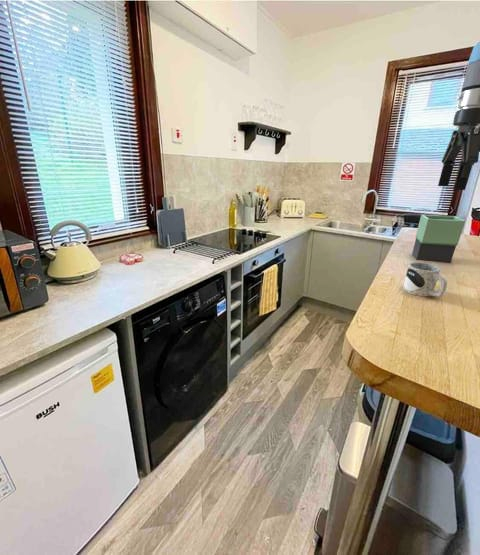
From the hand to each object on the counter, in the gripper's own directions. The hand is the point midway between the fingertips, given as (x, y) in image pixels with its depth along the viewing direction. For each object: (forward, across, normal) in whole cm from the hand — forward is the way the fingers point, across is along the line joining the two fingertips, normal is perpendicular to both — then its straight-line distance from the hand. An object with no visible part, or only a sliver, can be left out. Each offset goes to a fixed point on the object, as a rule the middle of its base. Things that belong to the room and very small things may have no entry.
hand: (450, 187), depth 85 cm
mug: (+23, +32, -10) cm, 41 cm away
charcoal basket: (+23, 0, 0) cm, 23 cm away
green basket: (+17, 0, 0) cm, 17 cm away
